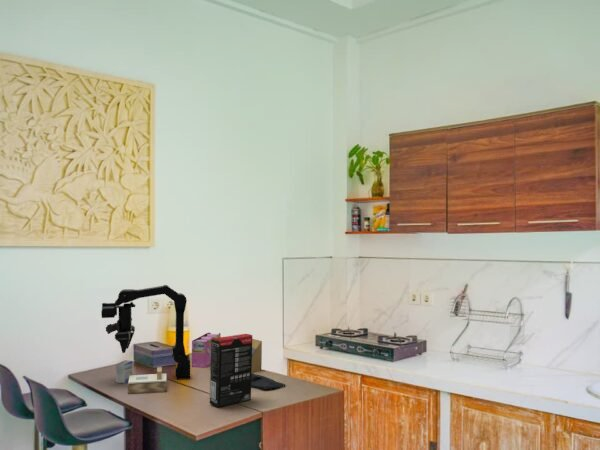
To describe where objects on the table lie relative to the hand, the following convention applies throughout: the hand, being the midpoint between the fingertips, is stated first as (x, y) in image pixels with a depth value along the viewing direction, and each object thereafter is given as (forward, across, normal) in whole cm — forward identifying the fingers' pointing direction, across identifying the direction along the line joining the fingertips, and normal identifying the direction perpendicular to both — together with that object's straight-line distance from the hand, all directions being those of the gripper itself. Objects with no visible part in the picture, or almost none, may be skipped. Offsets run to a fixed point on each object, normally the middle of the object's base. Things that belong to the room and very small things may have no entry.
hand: (125, 350), depth 271 cm
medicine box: (+14, -1, -1) cm, 15 cm away
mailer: (+14, +14, +12) cm, 23 cm away
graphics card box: (+15, +38, +48) cm, 63 cm away
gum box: (+15, -33, +36) cm, 51 cm away
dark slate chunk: (+16, +12, +62) cm, 65 cm away
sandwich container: (+15, -11, +55) cm, 58 cm away
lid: (+10, +14, +12) cm, 21 cm away
